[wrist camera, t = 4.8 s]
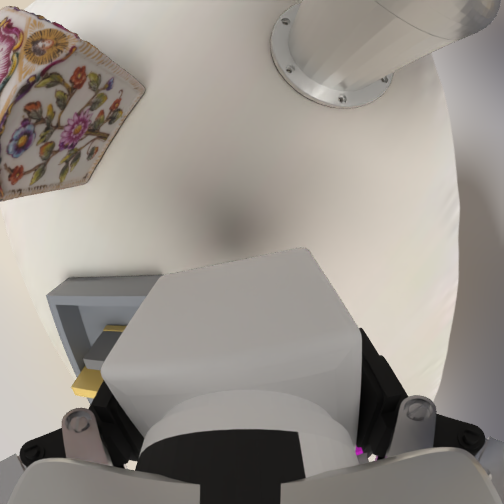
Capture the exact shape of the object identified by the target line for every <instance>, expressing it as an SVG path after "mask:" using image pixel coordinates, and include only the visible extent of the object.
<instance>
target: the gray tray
mask: <svg viewBox="0 0 504 504" xmlns="http://www.w3.org/2000/svg"><path fill="white" fill-rule="evenodd" d="M161 276H163V275H148V276H117V277H78V278H68V279H67V280H65V281H64V282H63V283H61V284H60V285H59V286H57V287H56V288H55V289H54V290H52V291H51V292H50V293H49V294H47V295H46V297H47V300H48V303H49V307H50V310H51V313H52V316H53V319H54V322H55V325H56V328H57V330H58V333H59V336H60V338H61V341H62V344H63V346H64V349H65V351H66V354H67V356H68V358H69V361H70V363H71V365H72V368H73V370H74V372H75V374H76V377H78V376H79V374H80V373H81V371H82V370H83V368H84V367H85V363H84V360H83V358H84V357H85V355H86V354H87V352H88V351H89V350H90V348H91V347H92V345H93V344H94V343H95V341H96V340H97V338H98V337H99V336H100V334H101V333H102V332H103V329H104V328H105V326H106V325H114V326H127V325H128V323H129V322H130V320H131V319H132V317H133V316H134V314H135V313H136V311H137V310H138V308H139V307H140V305H141V304H142V302H143V301H144V299H145V298H146V296H147V295H148V293H149V292H150V291H151V289H152V288H153V286H154V285H155V283H156V282H157V280H158V279H159V278H160V277H161ZM87 399H88V401H89V403H90V405H91V403H92V401H93V399H94V398H88V397H87Z"/></svg>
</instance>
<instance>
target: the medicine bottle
mask: <svg viewBox="0 0 504 504" xmlns="http://www.w3.org/2000/svg"><path fill="white" fill-rule="evenodd" d="M361 368H362V336H361V332H360V330H359V328H358V326H357V325H356V323H355V321H354V320H353V318H352V316H351V315H350V313H349V312H348V310H347V308H346V307H345V305H344V304H343V302H342V300H341V299H340V297H339V296H338V294H337V292H336V291H335V289H334V288H333V286H332V285H331V283H330V281H329V280H328V278H327V277H326V275H325V274H324V272H323V271H322V269H321V268H320V266H319V265H318V263H317V261H316V260H315V258H314V257H313V255H312V254H311V252H310V251H309V250H308V249H307V248H296V249H291V250H286V251H281V252H276V253H271V254H266V255H261V256H256V257H251V258H246V259H241V260H236V261H232V262H227V263H222V264H217V265H212V266H207V267H202V268H196V269H191V270H186V271H181V272H176V273H171V274H166V275H163V276H161V277H160V278H159V279H158V280H157V282H156V283H155V285H154V286H153V288H152V289H151V291H150V292H149V293H148V295H147V296H146V298H145V299H144V301H143V302H142V304H141V305H140V307H139V308H138V310H137V311H136V313H135V314H134V316H133V317H132V319H131V320H130V322H129V323H128V325H127V326H126V328H125V330H124V331H123V333H122V334H121V336H120V337H119V339H118V340H117V342H116V344H115V345H114V347H113V348H112V350H111V352H110V353H109V355H108V356H107V358H106V360H105V361H104V363H103V365H102V367H101V375H102V378H103V379H104V381H105V383H106V384H107V386H108V387H109V389H110V390H111V392H112V394H113V395H114V397H115V398H116V400H117V401H118V403H119V404H120V406H121V407H122V409H123V410H124V411H125V413H126V414H127V416H128V417H129V418H130V420H131V421H132V423H133V424H134V425H135V427H136V428H137V429H138V431H139V432H140V433H141V435H142V436H143V437H144V438H145V439H144V442H143V445H142V448H141V452H140V455H139V458H138V462H137V465H136V469H135V471H140V472H146V473H153V474H159V475H162V476H165V477H168V478H171V479H175V480H179V481H183V482H187V483H192V484H199V485H200V504H280V502H281V484H282V483H287V482H291V481H296V480H300V479H304V478H307V477H311V476H314V475H317V474H320V473H323V472H326V471H330V470H336V469H341V468H346V467H351V466H355V465H359V462H358V459H357V455H356V452H355V450H356V441H357V431H358V421H359V408H360V392H361Z"/></svg>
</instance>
